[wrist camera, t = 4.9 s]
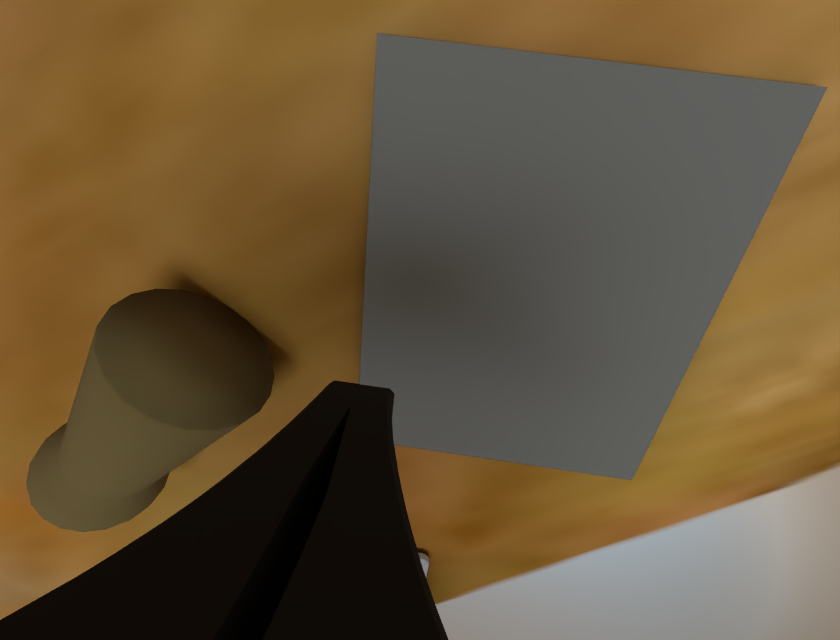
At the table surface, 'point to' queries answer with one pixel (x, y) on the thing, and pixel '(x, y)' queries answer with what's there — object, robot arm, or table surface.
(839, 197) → the table surface
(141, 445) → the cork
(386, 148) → the topple mat
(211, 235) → the table surface
